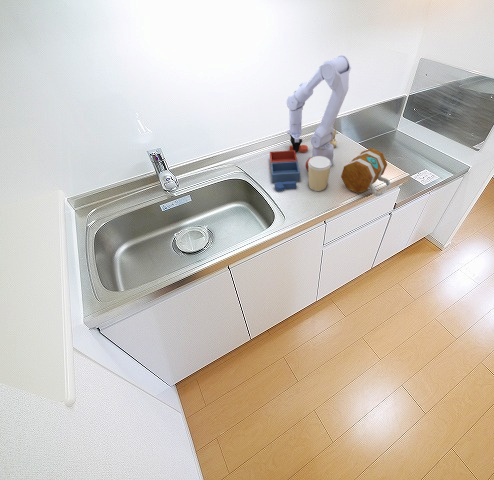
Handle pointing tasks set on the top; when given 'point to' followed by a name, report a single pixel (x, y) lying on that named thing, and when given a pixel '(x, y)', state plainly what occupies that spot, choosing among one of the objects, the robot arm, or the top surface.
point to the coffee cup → (318, 172)
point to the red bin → (283, 156)
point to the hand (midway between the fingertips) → (295, 148)
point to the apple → (307, 164)
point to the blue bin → (285, 172)
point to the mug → (365, 172)
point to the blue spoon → (285, 185)
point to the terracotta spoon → (300, 148)
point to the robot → (334, 139)
